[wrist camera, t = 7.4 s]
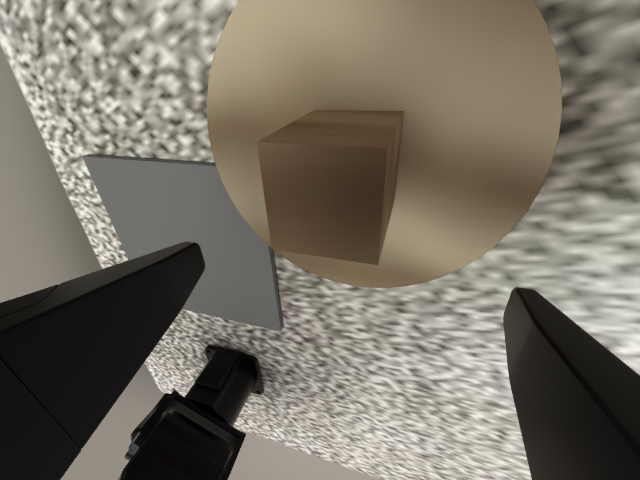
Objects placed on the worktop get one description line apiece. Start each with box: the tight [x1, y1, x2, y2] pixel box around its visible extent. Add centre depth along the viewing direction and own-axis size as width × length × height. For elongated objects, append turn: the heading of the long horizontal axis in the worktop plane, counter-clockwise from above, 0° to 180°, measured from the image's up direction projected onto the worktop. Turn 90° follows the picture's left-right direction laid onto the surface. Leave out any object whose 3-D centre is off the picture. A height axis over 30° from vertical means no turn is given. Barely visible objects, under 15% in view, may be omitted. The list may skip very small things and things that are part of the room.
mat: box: [83, 154, 283, 331], centre depth 28 cm, size 16×16×1 cm
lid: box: [207, 0, 562, 288], centre depth 11 cm, size 14×14×6 cm
